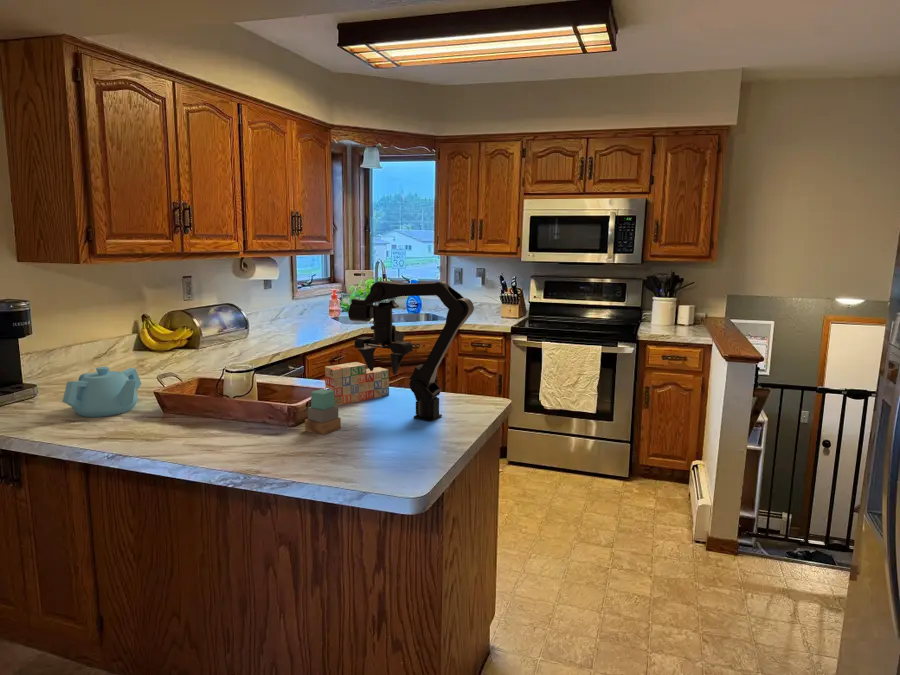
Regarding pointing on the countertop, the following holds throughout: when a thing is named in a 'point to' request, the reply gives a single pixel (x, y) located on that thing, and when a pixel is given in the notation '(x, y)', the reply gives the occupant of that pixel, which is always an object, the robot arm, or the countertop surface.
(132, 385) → the teapot
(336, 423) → the walnut base block
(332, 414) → the charcoal block
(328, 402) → the teal block
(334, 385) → the stack of blocks
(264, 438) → the countertop surface
